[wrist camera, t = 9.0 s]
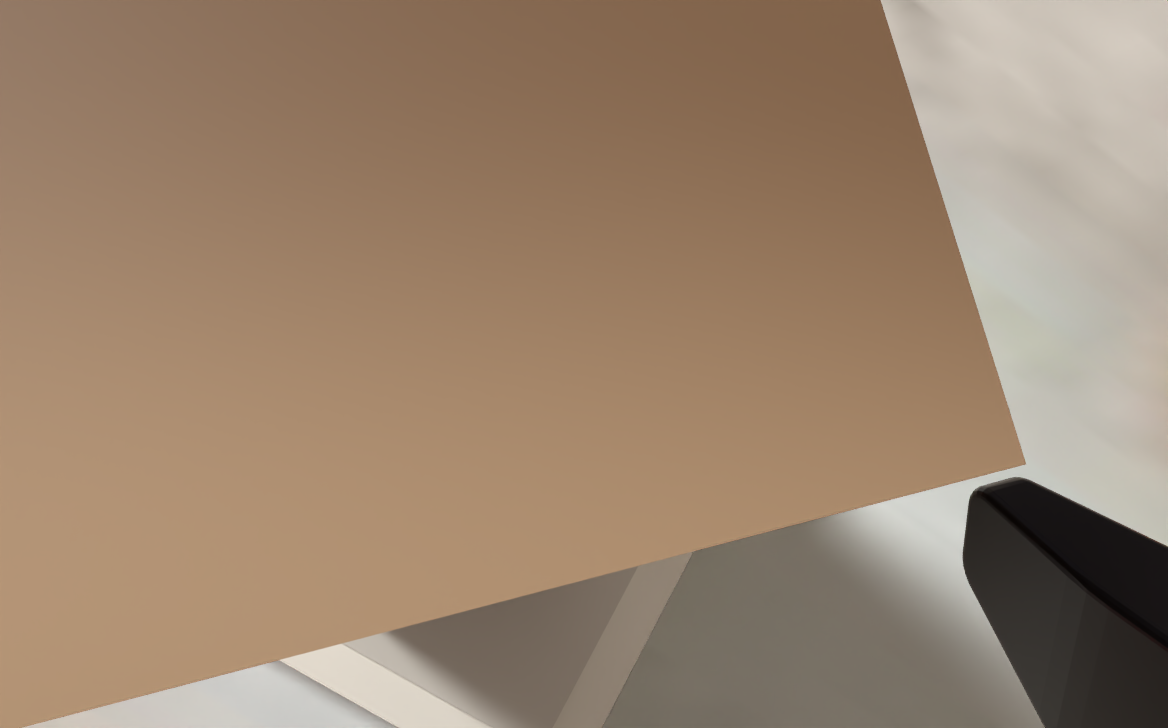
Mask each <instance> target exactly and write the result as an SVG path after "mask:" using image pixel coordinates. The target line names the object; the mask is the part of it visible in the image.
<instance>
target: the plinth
mask: <svg viewBox="0 0 1168 728" xmlns="http://www.w3.org/2000/svg"><path fill="white" fill-rule="evenodd" d="M693 552H694V551H693ZM693 552H689V553H685V554H682V555H678V556H674V557H670V558H666V559H662V560H659V561H655V562H651V563H647V564H643V565H640V566H636V567H632V568H628V569H624V570H621V571H617V572H613V573H609V574H605V575H601V576H598V577H594V578H590V579H586V580H582V581H579V582H575V583H571V584H567V585H563V586H559V587H556V588H552V589H548V590H544V591H540V592H537V593H533V594H529V595H525V596H521V597H518V598H514V599H510V600H506V601H502V602H498V603H495V604H491V605H487V606H483V607H479V608H476V609H472V610H468V611H464V612H460V613H456V614H453V615H449V616H445V617H441V618H437V619H434V620H430V621H426V622H422V623H418V624H415V625H411V626H407V627H403V628H399V629H395V630H392V631H388V632H384V633H380V634H376V635H373V636H369V637H365V638H361V639H357V640H354V641H350V642H346V643H342V644H338V645H334V646H331V647H327V648H323V649H319V650H315V651H312V652H308V653H304V654H300V655H296V656H292V657H289V658H285V659H281V660H280V661H281V662H283V663H285V664H287V665H288V666H290V667H292V668H294V669H296V670H297V671H299V672H301V673H303V674H304V675H306V676H308V677H310V678H311V679H313V680H315V681H317V682H319V683H320V684H322V685H324V686H326V687H327V688H329V689H331V690H333V691H334V692H336V693H338V694H340V695H342V696H343V697H345V698H347V699H349V700H350V701H352V702H354V703H356V704H357V705H359V706H361V707H363V708H364V709H366V710H368V711H370V712H372V713H373V714H375V715H377V716H379V717H380V718H382V719H384V720H386V721H387V722H389V723H391V724H393V725H395V726H396V727H398V728H602V727H603V725H604V723H605V721H606V719H607V717H608V715H609V713H610V711H611V709H612V708H613V706H614V704H615V702H616V700H617V698H618V696H619V694H620V692H621V690H622V688H623V686H624V685H625V683H626V681H627V679H628V677H629V675H630V673H631V671H632V669H633V667H634V665H635V663H636V661H637V660H638V658H639V656H640V654H641V652H642V650H643V648H644V646H645V644H646V642H647V640H648V638H649V636H650V635H651V633H652V631H653V629H654V627H655V625H656V623H657V621H658V619H659V617H660V615H661V613H662V611H663V610H664V608H665V606H666V604H667V602H668V600H669V598H670V596H671V594H672V592H673V590H674V588H675V586H676V585H677V583H678V581H679V579H680V577H681V575H682V573H683V571H684V569H685V567H686V565H687V563H688V561H689V560H690V558H691V556H692V554H693Z"/></svg>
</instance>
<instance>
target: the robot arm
mask: <svg viewBox="0 0 1168 728" xmlns="http://www.w3.org/2000/svg"><path fill="white" fill-rule="evenodd" d="M963 566H964V570H965V574H966V577H967V579H968V582H969V584H970V586H971V588H972V590H973V592H974V594H975V596H976V598H977V600H978V601H979V603H980V605H981V607H982V609H983V611H984V613H985V615H986V617H987V619H988V621H989V622H990V624H991V626H992V628H993V630H994V632H995V634H996V636H997V638H998V640H999V642H1000V643H1001V645H1002V647H1003V649H1004V651H1005V653H1006V655H1007V657H1008V659H1009V661H1010V662H1011V664H1012V666H1013V668H1014V670H1015V672H1016V674H1017V676H1018V678H1019V680H1020V682H1021V683H1022V685H1023V687H1024V689H1025V691H1026V693H1027V695H1028V697H1029V699H1030V701H1031V703H1032V704H1033V706H1034V708H1035V710H1036V712H1037V714H1038V716H1039V718H1040V719H1041V721H1042V723H1043V725H1044V727H1045V728H1168V546H1166V545H1163V544H1161V543H1159V542H1157V541H1155V540H1153V539H1151V538H1149V537H1147V536H1145V535H1143V534H1141V533H1139V532H1137V531H1134V530H1132V529H1130V528H1128V527H1126V526H1124V525H1122V524H1120V523H1118V522H1116V521H1114V520H1112V519H1110V518H1107V517H1105V516H1103V515H1101V514H1099V513H1097V512H1095V511H1093V510H1091V509H1089V508H1087V507H1085V506H1083V505H1081V504H1078V503H1076V502H1074V501H1072V500H1070V499H1068V498H1066V497H1064V496H1062V495H1060V494H1058V493H1056V492H1054V491H1052V490H1049V489H1047V488H1045V487H1043V486H1041V485H1039V484H1037V483H1035V482H1033V481H1031V480H1028V479H1025V478H1021V477H1013V478H1008V479H1005V480H1001V481H998V482H994V483H991V484H987V485H984V486H980V487H978V488H976V489H975V490H974V491H973V493H972V494H971V496H970V499H969V505H968V513H967V522H966V530H965V538H964V547H963Z"/></svg>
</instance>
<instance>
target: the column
mask: <svg viewBox="0 0 1168 728" xmlns="http://www.w3.org/2000/svg"><path fill="white" fill-rule="evenodd" d="M1025 464H1026V462H1025V459H1024V456H1023V453H1022V449H1021V446H1020V443H1019V440H1018V437H1017V434H1016V430H1015V427H1014V424H1013V421H1012V418H1011V414H1010V411H1009V408H1008V405H1007V402H1006V399H1005V395H1004V392H1003V389H1002V386H1001V383H1000V379H999V376H998V373H997V370H996V367H995V364H994V360H993V357H992V354H991V351H990V348H989V344H988V341H987V338H986V335H985V332H984V329H983V325H982V322H981V319H980V316H979V313H978V309H977V306H976V303H975V300H974V297H973V294H972V290H971V287H970V284H969V281H968V278H967V274H966V271H965V268H964V265H963V262H962V258H961V255H960V252H959V249H958V246H957V243H956V239H955V236H954V233H953V230H952V227H951V223H950V220H949V217H948V214H947V211H946V208H945V204H944V201H943V198H942V195H941V192H940V188H939V185H938V182H937V179H936V176H935V173H934V169H933V166H932V163H931V160H930V157H929V153H928V150H927V147H926V144H925V141H924V138H923V134H922V131H921V128H920V125H919V122H918V118H917V115H916V112H915V109H914V106H913V103H912V99H911V96H910V93H909V90H908V87H907V83H906V80H905V77H904V74H903V71H902V68H901V64H900V61H899V58H898V55H897V52H896V48H895V45H894V42H893V39H892V36H891V32H890V29H889V26H888V23H887V20H886V17H885V13H884V10H883V7H882V4H881V1H880V0H0V728H22V727H25V726H29V725H33V724H37V723H41V722H45V721H48V720H52V719H56V718H60V717H64V716H67V715H71V714H75V713H79V712H83V711H87V710H90V709H94V708H98V707H102V706H106V705H109V704H113V703H117V702H121V701H125V700H128V699H132V698H136V697H140V696H144V695H148V694H151V693H155V692H159V691H163V690H167V689H170V688H174V687H178V686H182V685H186V684H190V683H193V682H197V681H201V680H205V679H209V678H212V677H216V676H220V675H224V674H228V673H231V672H235V671H239V670H243V669H247V668H251V667H254V666H258V665H262V664H266V663H270V662H273V661H277V660H281V659H285V658H289V657H292V656H296V655H300V654H304V653H308V652H312V651H315V650H319V649H323V648H327V647H331V646H334V645H338V644H342V643H346V642H350V641H354V640H357V639H361V638H365V637H369V636H373V635H376V634H380V633H384V632H388V631H392V630H395V629H399V628H403V627H407V626H411V625H415V624H418V623H422V622H426V621H430V620H434V619H437V618H441V617H445V616H449V615H453V614H456V613H460V612H464V611H468V610H472V609H476V608H479V607H483V606H487V605H491V604H495V603H498V602H502V601H506V600H510V599H514V598H518V597H521V596H525V595H529V594H533V593H537V592H540V591H544V590H548V589H552V588H556V587H559V586H563V585H567V584H571V583H575V582H579V581H582V580H586V579H590V578H594V577H598V576H601V575H605V574H609V573H613V572H617V571H621V570H624V569H628V568H632V567H636V566H640V565H643V564H647V563H651V562H655V561H659V560H662V559H666V558H670V557H674V556H678V555H682V554H685V553H689V552H693V551H697V550H701V549H704V548H708V547H712V546H716V545H720V544H723V543H727V542H731V541H735V540H739V539H743V538H746V537H750V536H754V535H758V534H762V533H765V532H769V531H773V530H777V529H781V528H785V527H788V526H792V525H796V524H800V523H804V522H807V521H811V520H815V519H819V518H823V517H826V516H830V515H834V514H838V513H842V512H846V511H849V510H853V509H857V508H861V507H865V506H868V505H872V504H876V503H880V502H884V501H887V500H891V499H895V498H899V497H903V496H907V495H910V494H914V493H918V492H922V491H926V490H929V489H933V488H937V487H941V486H945V485H949V484H952V483H956V482H960V481H964V480H968V479H971V478H975V477H979V476H983V475H987V474H990V473H994V472H998V471H1002V470H1006V469H1010V468H1013V467H1017V466H1021V465H1025Z"/></svg>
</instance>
